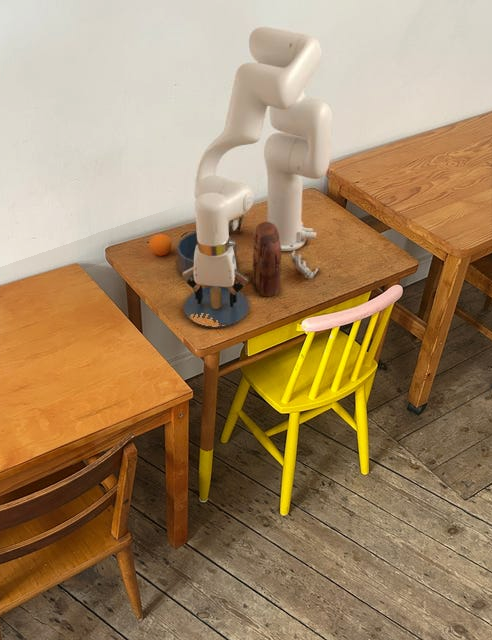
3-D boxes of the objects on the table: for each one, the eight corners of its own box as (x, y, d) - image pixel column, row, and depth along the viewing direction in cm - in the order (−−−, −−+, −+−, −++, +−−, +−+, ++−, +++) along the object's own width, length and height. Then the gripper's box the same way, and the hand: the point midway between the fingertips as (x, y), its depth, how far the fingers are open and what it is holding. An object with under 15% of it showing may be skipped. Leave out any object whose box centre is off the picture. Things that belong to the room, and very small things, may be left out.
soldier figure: (308, 261, 205) (329, 272, 195) (299, 275, 205) (319, 287, 195) (289, 246, 201) (309, 256, 191) (279, 261, 201) (298, 272, 191)
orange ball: (174, 248, 208) (172, 230, 204) (169, 260, 204) (167, 242, 200) (153, 246, 209) (151, 228, 205) (148, 258, 205) (146, 240, 200)
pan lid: (253, 292, 193) (253, 273, 189) (242, 332, 181) (242, 313, 177) (191, 287, 195) (190, 268, 191) (177, 326, 183) (175, 307, 179)
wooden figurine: (248, 273, 199) (247, 215, 187) (271, 270, 200) (272, 212, 188) (260, 299, 191) (260, 240, 179) (284, 295, 192) (285, 236, 180)
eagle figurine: (242, 219, 217) (212, 213, 217) (245, 208, 210) (213, 202, 210) (238, 242, 215) (208, 236, 215) (240, 233, 209) (209, 226, 208)
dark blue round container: (240, 252, 207) (240, 232, 202) (230, 285, 195) (230, 265, 191) (186, 247, 208) (184, 228, 204) (173, 280, 197) (171, 260, 193)
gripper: (252, 238, 177) (252, 296, 188) (181, 232, 179) (186, 290, 190) (246, 255, 171) (248, 314, 183) (173, 249, 173) (179, 308, 185)
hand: (216, 302), depth 187 cm, fingers open, 7 cm apart
